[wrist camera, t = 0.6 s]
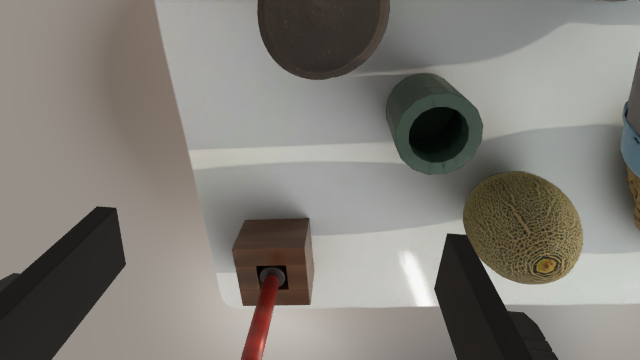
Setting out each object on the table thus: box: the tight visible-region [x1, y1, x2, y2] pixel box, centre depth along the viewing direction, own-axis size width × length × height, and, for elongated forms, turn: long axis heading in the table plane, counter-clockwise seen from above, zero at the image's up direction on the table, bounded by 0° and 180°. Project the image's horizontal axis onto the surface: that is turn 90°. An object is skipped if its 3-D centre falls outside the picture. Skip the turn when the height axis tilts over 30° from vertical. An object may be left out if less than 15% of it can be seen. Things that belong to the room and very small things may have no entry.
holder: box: [232, 218, 314, 306], centre depth 54 cm, size 9×9×7 cm
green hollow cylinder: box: [386, 73, 483, 175], centre depth 43 cm, size 8×8×10 cm
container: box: [258, 0, 390, 80], centre depth 34 cm, size 9×9×20 cm
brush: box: [241, 265, 287, 360], centre depth 48 cm, size 3×3×21 cm
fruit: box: [463, 171, 583, 284], centre depth 45 cm, size 11×11×15 cm
